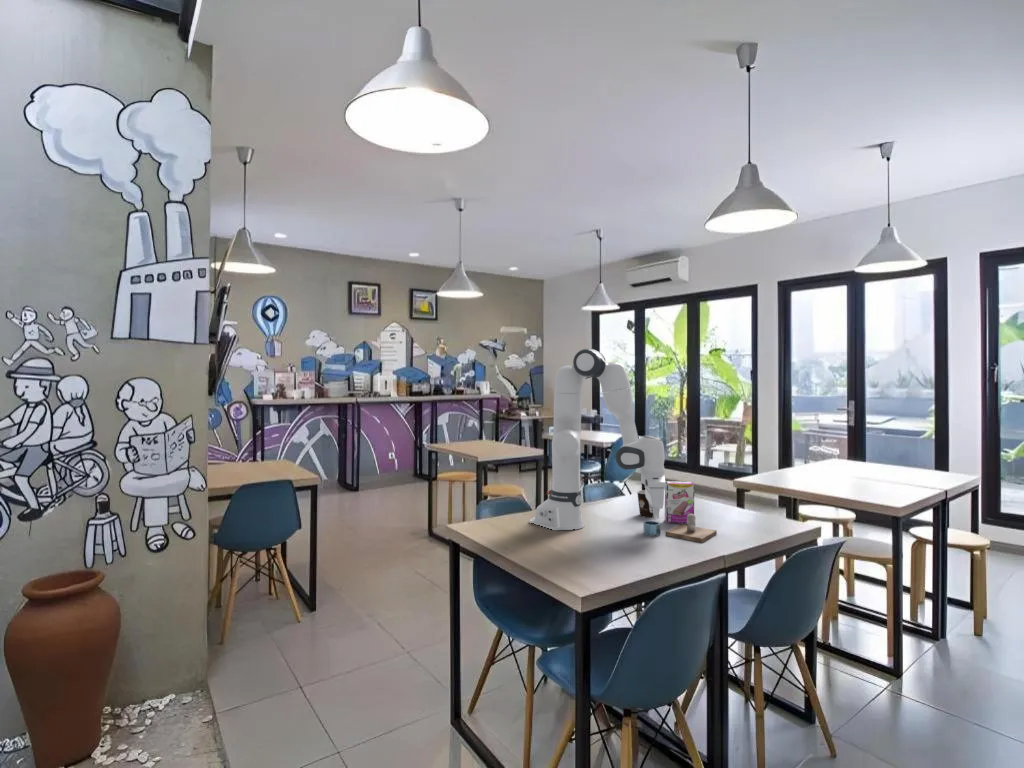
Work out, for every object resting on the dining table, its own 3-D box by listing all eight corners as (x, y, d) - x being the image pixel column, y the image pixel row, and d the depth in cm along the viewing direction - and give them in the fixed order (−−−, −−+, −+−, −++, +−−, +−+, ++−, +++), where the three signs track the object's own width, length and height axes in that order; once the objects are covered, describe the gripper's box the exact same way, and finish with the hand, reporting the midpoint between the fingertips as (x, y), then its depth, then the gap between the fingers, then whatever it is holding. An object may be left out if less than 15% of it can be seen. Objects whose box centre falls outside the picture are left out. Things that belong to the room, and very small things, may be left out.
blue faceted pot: (661, 536, 200) (661, 525, 200) (644, 535, 200) (644, 524, 200) (658, 531, 206) (658, 521, 206) (642, 531, 206) (642, 520, 206)
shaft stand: (665, 535, 201) (665, 514, 200) (680, 527, 211) (680, 507, 211) (702, 542, 191) (702, 520, 191) (716, 534, 202) (716, 513, 202)
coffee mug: (634, 513, 235) (634, 490, 235) (653, 512, 236) (653, 490, 236) (643, 519, 223) (643, 495, 223) (663, 519, 224) (663, 495, 224)
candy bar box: (666, 523, 218) (666, 483, 218) (664, 520, 223) (664, 480, 223) (694, 524, 217) (694, 483, 217) (691, 521, 222) (692, 481, 222)
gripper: (641, 474, 214) (642, 508, 213) (648, 483, 193) (649, 522, 193) (657, 474, 213) (658, 508, 213) (666, 483, 192) (667, 522, 192)
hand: (654, 515), depth 203 cm, fingers open, 8 cm apart
